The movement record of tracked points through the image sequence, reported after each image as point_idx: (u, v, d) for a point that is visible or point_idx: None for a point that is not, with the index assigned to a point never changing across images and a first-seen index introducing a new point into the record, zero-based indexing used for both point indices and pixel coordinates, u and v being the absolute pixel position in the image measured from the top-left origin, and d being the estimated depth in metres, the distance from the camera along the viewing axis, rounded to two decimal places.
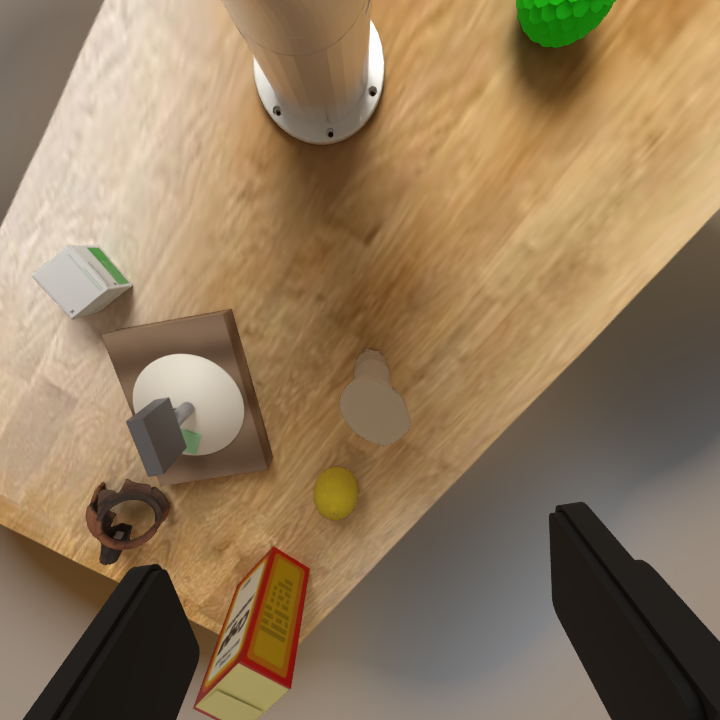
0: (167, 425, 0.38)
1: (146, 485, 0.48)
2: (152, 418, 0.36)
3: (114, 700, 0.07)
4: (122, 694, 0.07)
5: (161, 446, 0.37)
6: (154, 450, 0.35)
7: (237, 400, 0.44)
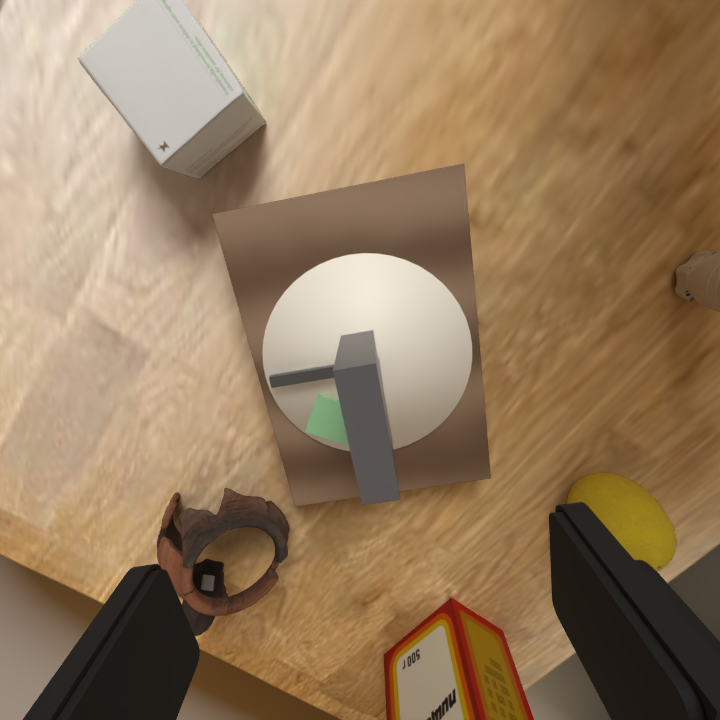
0: (382, 389, 0.17)
1: (259, 499, 0.28)
2: (377, 367, 0.15)
3: (114, 700, 0.07)
4: (122, 694, 0.07)
5: (389, 435, 0.16)
6: (389, 443, 0.15)
7: (462, 348, 0.23)
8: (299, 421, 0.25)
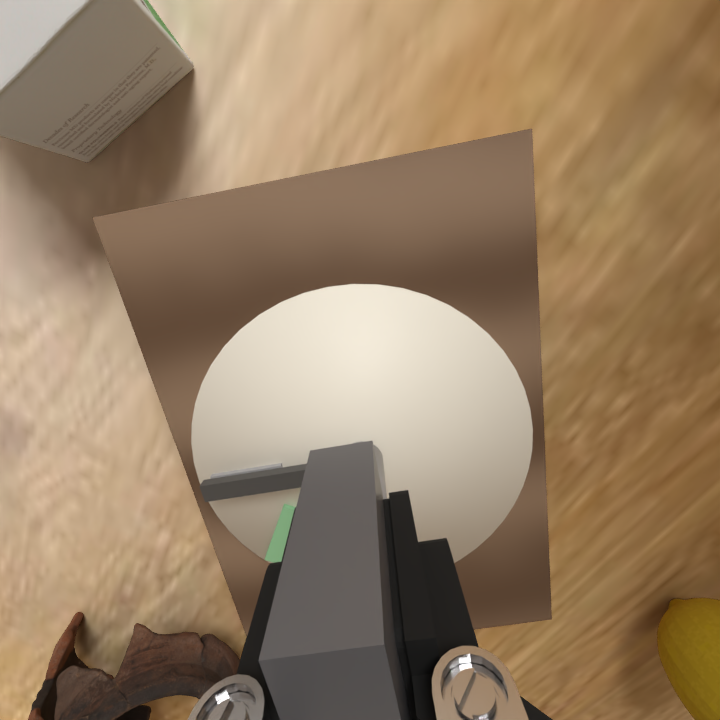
0: None
1: (189, 637, 0.18)
2: (385, 589, 0.06)
3: None
4: None
5: None
6: None
7: (516, 435, 0.14)
8: (255, 543, 0.16)
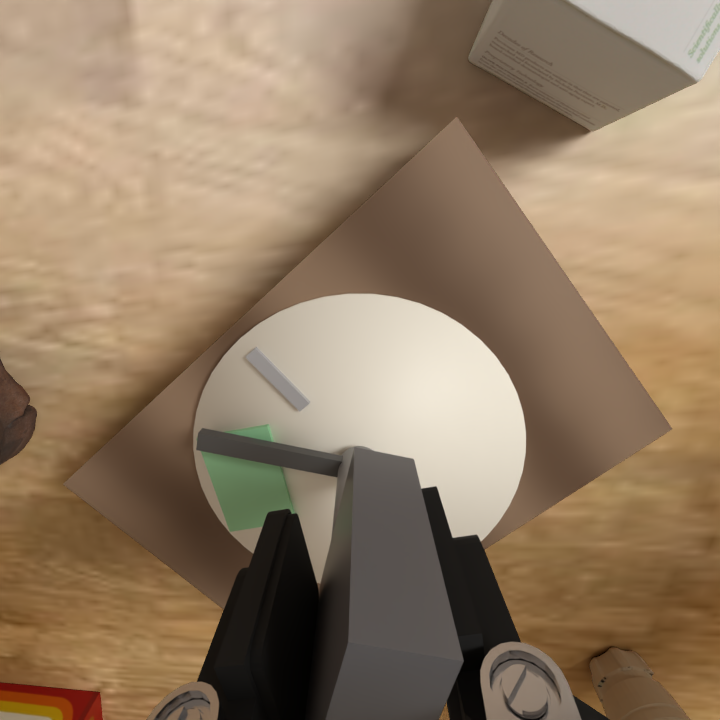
0: None
1: (22, 396, 0.15)
2: None
3: (286, 613, 0.08)
4: (289, 610, 0.08)
5: None
6: None
7: None
8: (206, 421, 0.14)
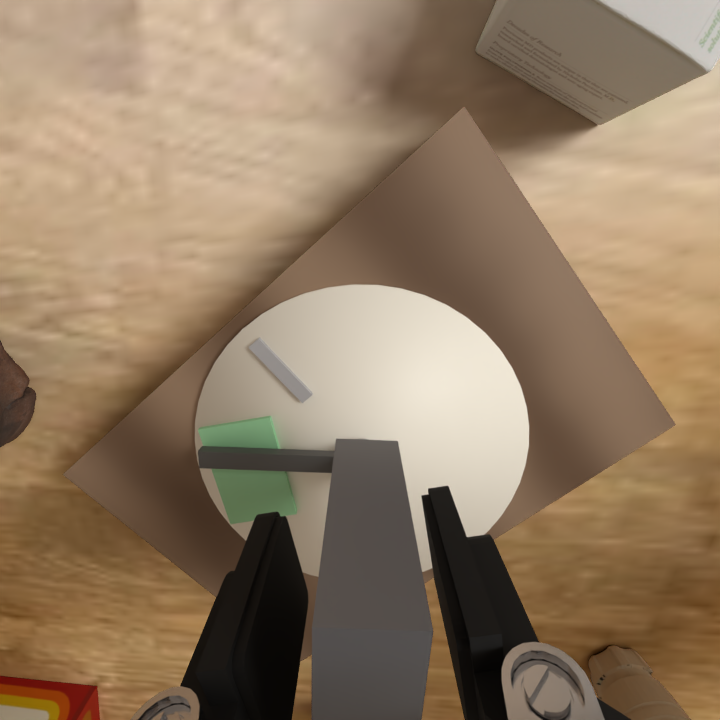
0: None
1: (21, 377, 0.15)
2: None
3: (272, 617, 0.08)
4: (275, 613, 0.08)
5: None
6: None
7: None
8: (208, 412, 0.14)
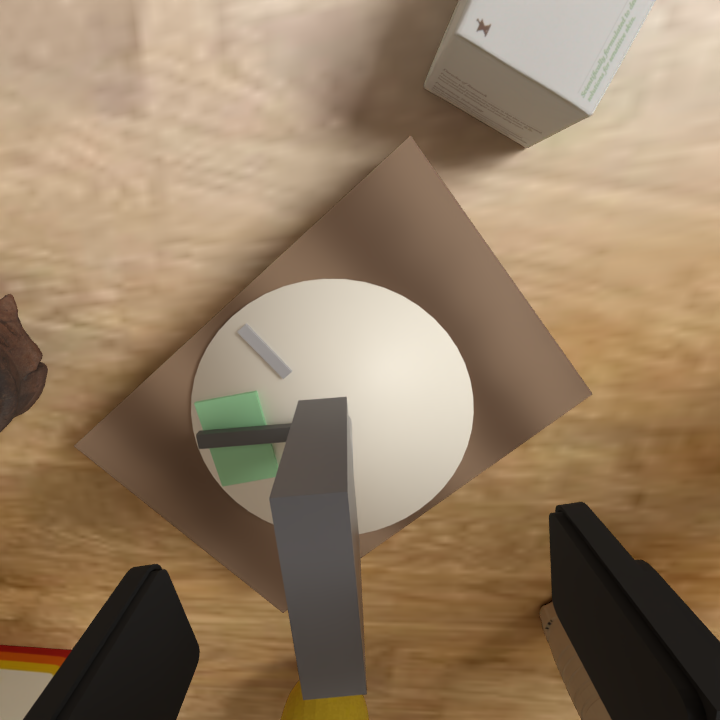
0: (353, 493, 0.11)
1: (36, 351, 0.17)
2: (348, 479, 0.09)
3: (114, 700, 0.07)
4: (122, 694, 0.07)
5: (358, 584, 0.10)
6: (358, 614, 0.09)
7: (409, 503, 0.19)
8: (202, 388, 0.17)
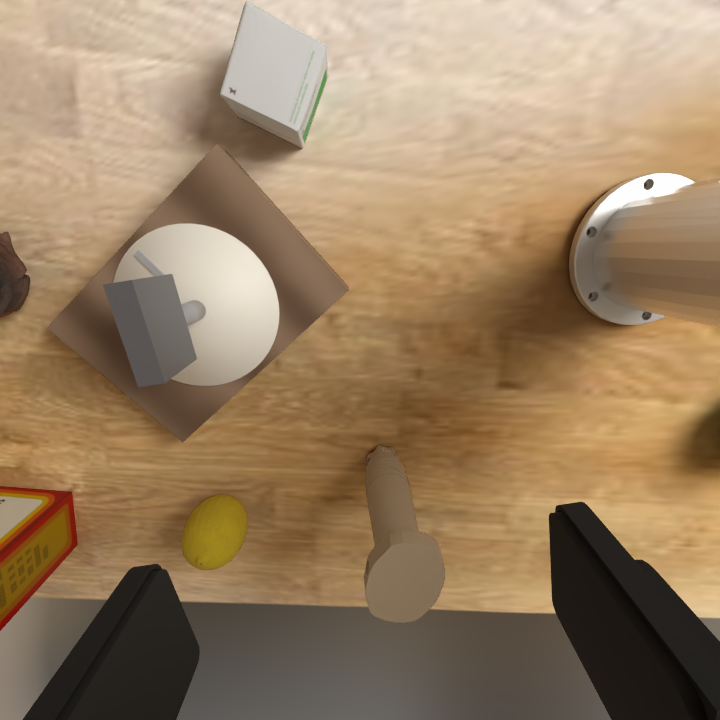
0: (169, 312, 0.24)
1: (22, 266, 0.29)
2: (147, 289, 0.22)
3: (114, 700, 0.07)
4: (122, 694, 0.07)
5: (160, 338, 0.22)
6: (150, 339, 0.21)
7: (249, 363, 0.32)
8: None
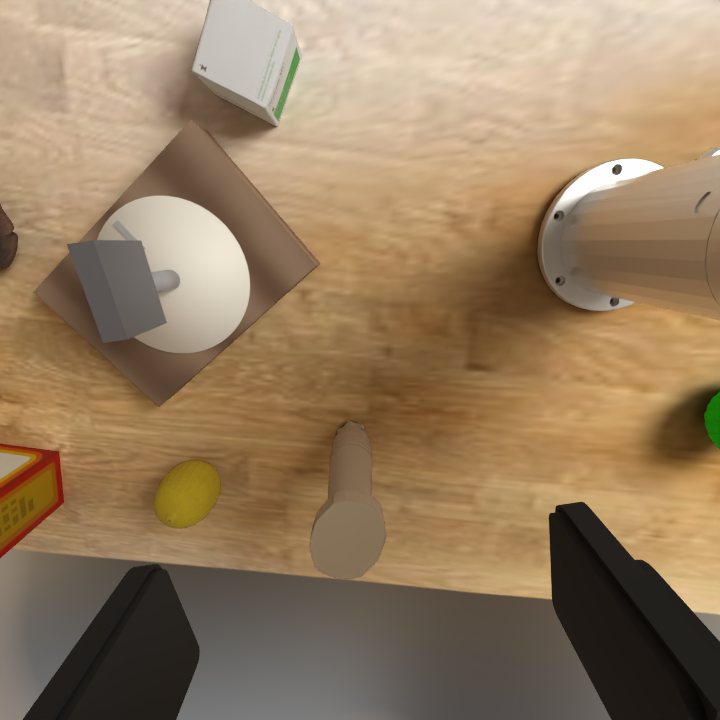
0: (135, 276, 0.25)
1: (10, 223, 0.31)
2: (111, 250, 0.23)
3: (114, 700, 0.07)
4: (122, 694, 0.07)
5: (124, 298, 0.24)
6: (112, 296, 0.23)
7: (221, 332, 0.33)
8: None
